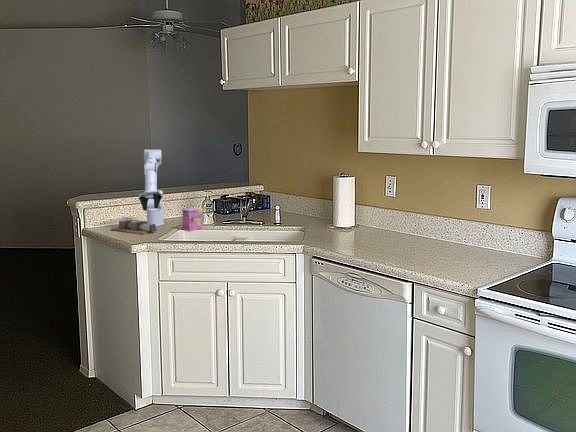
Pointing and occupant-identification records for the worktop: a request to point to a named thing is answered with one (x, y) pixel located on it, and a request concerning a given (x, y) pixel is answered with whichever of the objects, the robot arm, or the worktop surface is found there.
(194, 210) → the box
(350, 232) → the worktop surface
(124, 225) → the bearing board
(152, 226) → the shaft
